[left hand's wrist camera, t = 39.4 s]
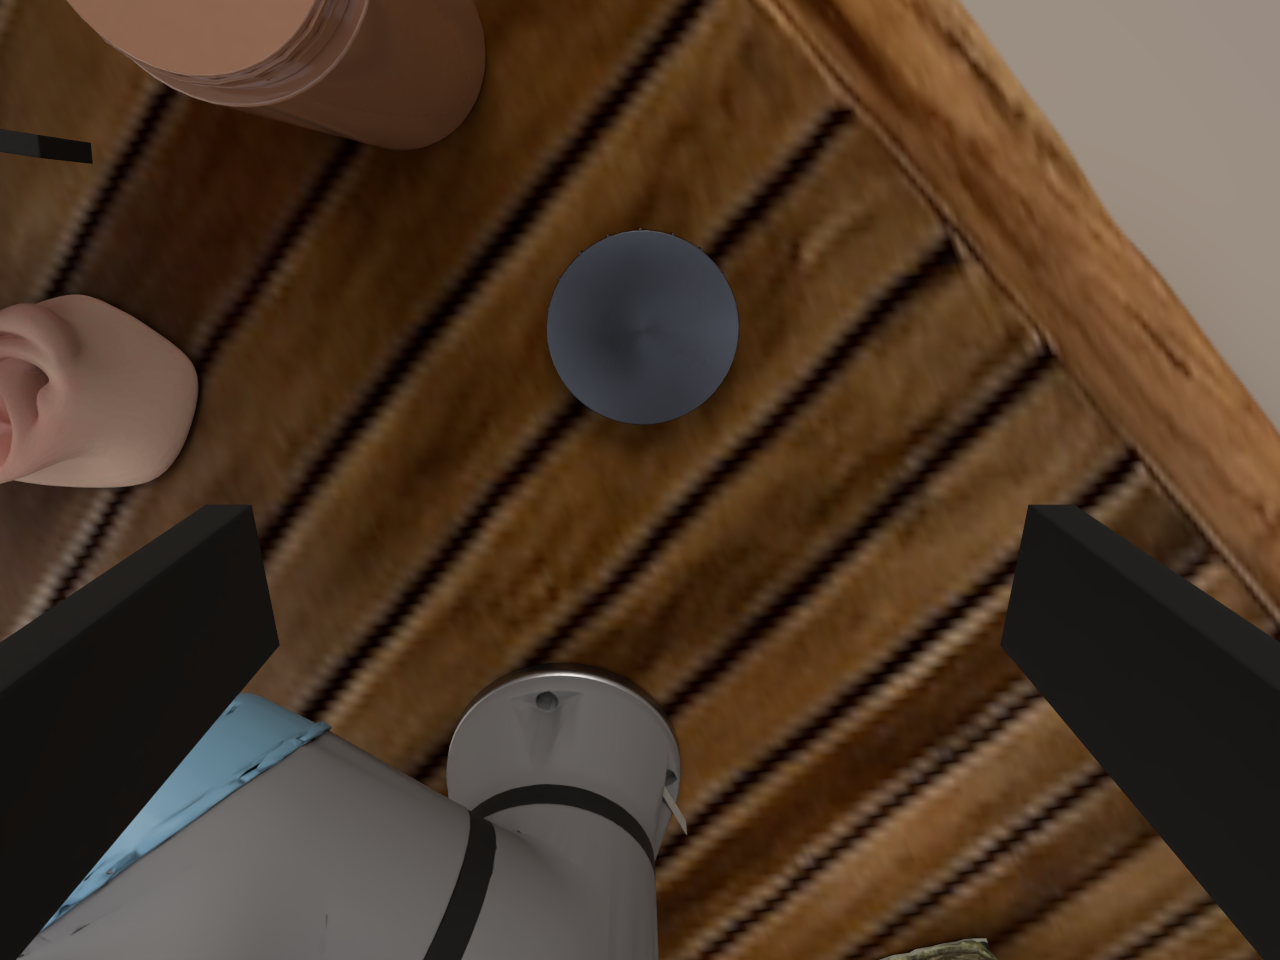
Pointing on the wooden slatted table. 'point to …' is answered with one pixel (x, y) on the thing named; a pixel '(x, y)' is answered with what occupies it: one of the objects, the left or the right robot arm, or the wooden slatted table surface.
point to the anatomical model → (89, 395)
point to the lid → (642, 327)
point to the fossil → (950, 951)
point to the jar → (311, 60)
